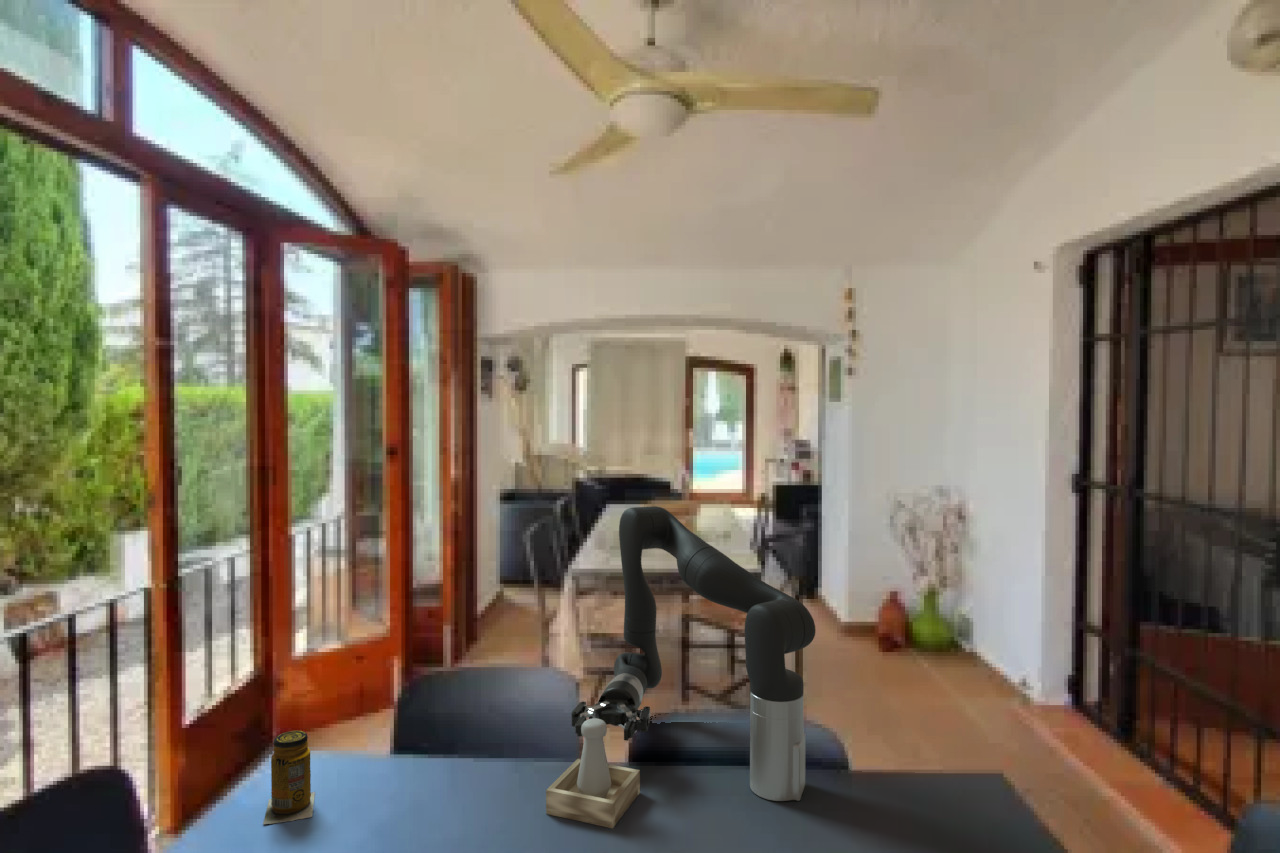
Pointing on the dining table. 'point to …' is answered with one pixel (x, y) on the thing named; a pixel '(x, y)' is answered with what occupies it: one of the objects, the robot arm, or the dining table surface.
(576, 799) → the serving bin
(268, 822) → the condiment
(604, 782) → the salt shaker
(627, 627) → the robot arm
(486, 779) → the dining table surface
